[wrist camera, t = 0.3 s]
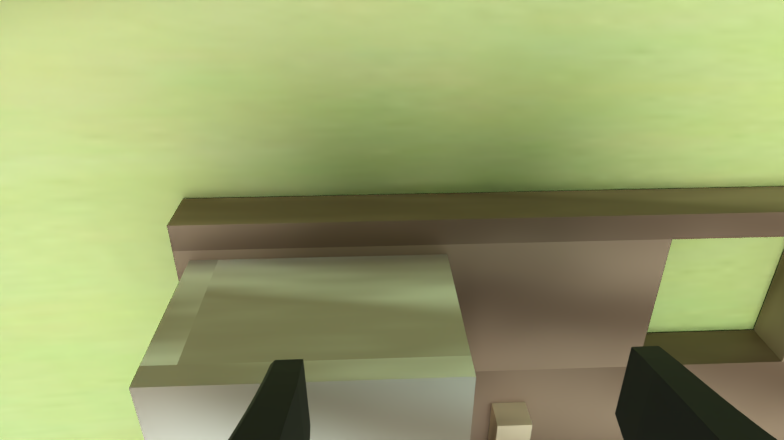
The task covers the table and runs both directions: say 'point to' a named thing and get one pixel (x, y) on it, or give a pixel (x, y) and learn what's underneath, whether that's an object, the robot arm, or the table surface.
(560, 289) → the deck
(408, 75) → the table surface
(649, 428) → the robot arm
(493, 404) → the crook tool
